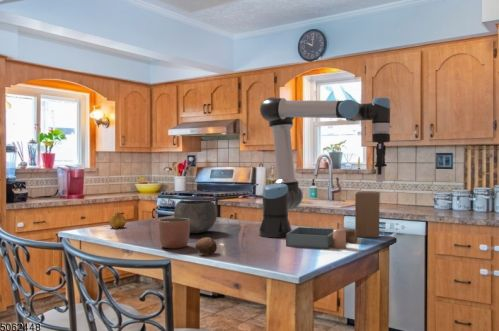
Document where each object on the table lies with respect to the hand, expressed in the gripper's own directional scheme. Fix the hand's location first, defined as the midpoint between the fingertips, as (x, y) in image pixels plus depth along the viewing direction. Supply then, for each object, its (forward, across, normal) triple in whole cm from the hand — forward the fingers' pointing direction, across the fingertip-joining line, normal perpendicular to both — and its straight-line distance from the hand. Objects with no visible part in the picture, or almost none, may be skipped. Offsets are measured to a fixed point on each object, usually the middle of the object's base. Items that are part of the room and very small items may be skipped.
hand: (380, 181), depth 196 cm
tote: (+25, -21, +26) cm, 42 cm away
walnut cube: (+25, -12, +11) cm, 30 cm away
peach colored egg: (+25, -26, +14) cm, 39 cm away
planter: (+26, -47, +76) cm, 93 cm away
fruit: (+26, -11, +130) cm, 133 cm away
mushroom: (+26, -54, +59) cm, 84 cm away
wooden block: (+25, +4, +6) cm, 26 cm away
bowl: (+26, -12, +84) cm, 89 cm away
